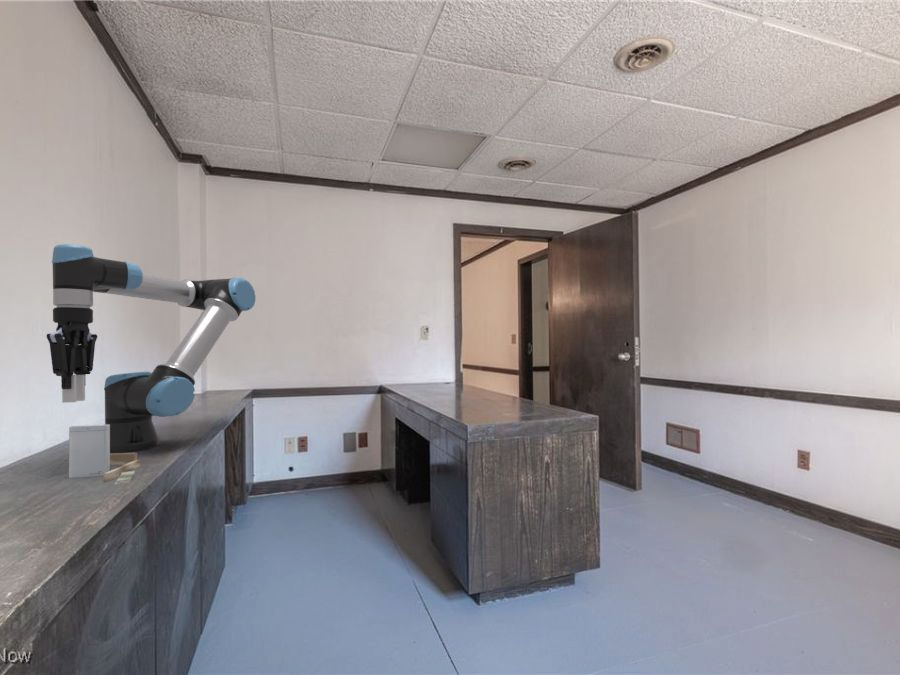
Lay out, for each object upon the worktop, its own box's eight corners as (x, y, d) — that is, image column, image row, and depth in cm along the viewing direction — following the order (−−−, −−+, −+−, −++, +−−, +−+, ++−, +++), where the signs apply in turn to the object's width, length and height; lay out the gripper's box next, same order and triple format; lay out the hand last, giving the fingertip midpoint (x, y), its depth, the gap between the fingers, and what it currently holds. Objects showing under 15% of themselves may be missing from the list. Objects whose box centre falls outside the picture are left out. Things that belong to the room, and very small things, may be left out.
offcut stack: (122, 477, 105) (122, 471, 105) (138, 475, 107) (137, 469, 107) (113, 487, 98) (113, 481, 98) (130, 485, 100) (130, 479, 100)
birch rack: (97, 465, 115) (97, 453, 115) (148, 463, 116) (148, 452, 116) (48, 484, 99) (48, 471, 99) (108, 482, 100) (108, 469, 100)
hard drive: (106, 475, 105) (106, 425, 105) (67, 478, 103) (68, 427, 103) (110, 473, 107) (110, 424, 107) (72, 476, 105) (72, 426, 105)
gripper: (80, 309, 114) (80, 397, 113) (30, 304, 99) (30, 406, 98) (110, 309, 114) (110, 397, 114) (65, 304, 99) (65, 405, 99)
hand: (73, 401), depth 106 cm, fingers open, 2 cm apart
